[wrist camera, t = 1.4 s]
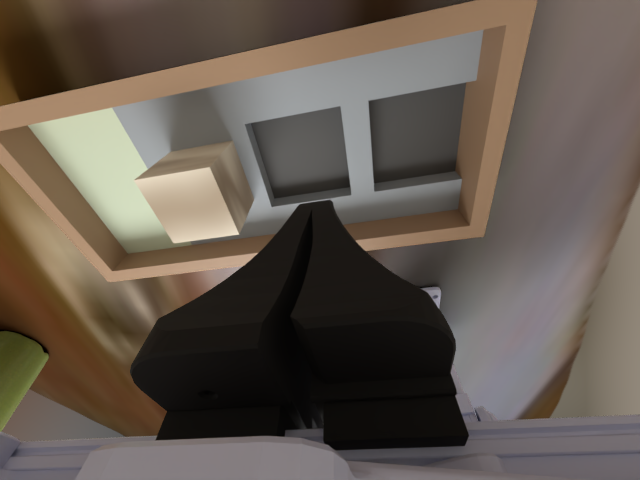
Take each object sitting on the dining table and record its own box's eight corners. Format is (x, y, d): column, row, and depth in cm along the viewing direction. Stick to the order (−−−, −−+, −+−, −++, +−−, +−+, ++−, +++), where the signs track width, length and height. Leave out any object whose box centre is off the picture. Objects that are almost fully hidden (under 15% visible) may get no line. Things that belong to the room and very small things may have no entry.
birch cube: (254, 199, 19) (239, 234, 15) (199, 208, 19) (173, 243, 16) (232, 140, 16) (209, 167, 13) (170, 151, 17) (133, 180, 13)
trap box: (462, 208, 20) (484, 236, 18) (134, 252, 24) (108, 282, 21) (495, -5, 13) (540, -14, 10) (19, 101, 17) (-43, 116, 14)
